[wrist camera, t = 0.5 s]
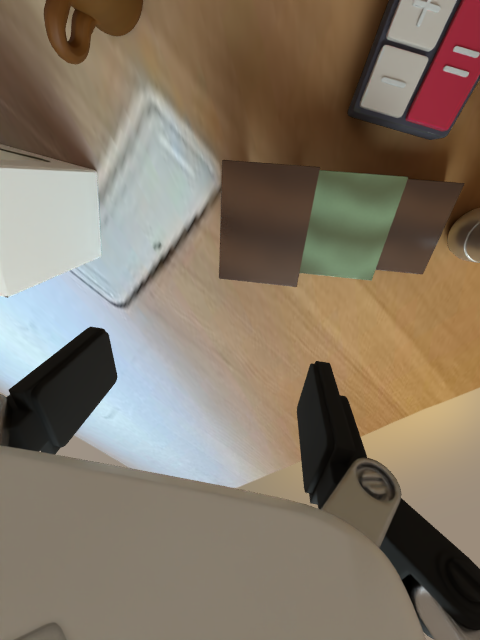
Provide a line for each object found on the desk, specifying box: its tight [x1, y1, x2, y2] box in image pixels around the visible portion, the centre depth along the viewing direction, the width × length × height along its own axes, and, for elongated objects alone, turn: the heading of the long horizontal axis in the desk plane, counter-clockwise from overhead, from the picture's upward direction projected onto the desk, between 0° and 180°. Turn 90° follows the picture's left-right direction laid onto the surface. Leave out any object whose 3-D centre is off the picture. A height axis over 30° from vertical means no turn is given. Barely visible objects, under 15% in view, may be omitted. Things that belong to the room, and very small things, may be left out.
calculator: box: [348, 0, 480, 140], centre depth 24 cm, size 11×4×15 cm
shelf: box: [219, 160, 464, 287], centre depth 29 cm, size 11×26×14 cm, turn 86°
